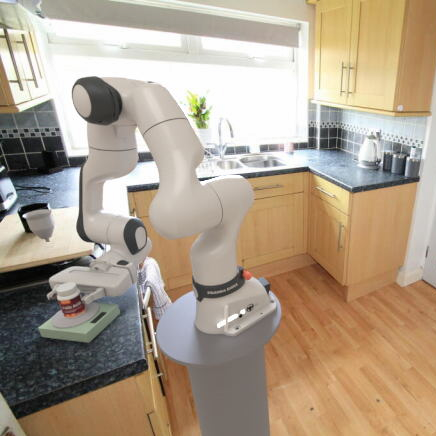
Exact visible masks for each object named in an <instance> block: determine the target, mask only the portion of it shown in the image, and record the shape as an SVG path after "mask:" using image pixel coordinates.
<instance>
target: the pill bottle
mask: <svg viewBox="0 0 436 436" xmlns="http://www.w3.org/2000/svg"><path fill="white" fill-rule="evenodd" d="M56 292H57V294H58V296H57V299H56V300H57V302H58V305H59V308H60V310H62V313H63V315H64V317H65V318H67V319H72V318H76V317H79V316H81V315H82V314H84V313H85V311H86V307H85V304H83V303H82V301H81V298H82V297H83V295H82V293H81V292H80V290H79V289H77V286H76V284H75V283H74V282H68V283H64V284H62V285H60V286H58V287H57V288H56Z"/></svg>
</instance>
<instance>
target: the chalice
mask: <svg viewBox="0 0 436 436" xmlns="http://www.w3.org/2000/svg"><path fill="white" fill-rule="evenodd" d="M22 218H24V219H26V223H27V225H28V227H29V230H30V231H31V232H32V233H33V234H34V235H35V236H36V237H38V238H39V239H40V240H45V243H46V242H51V240H50V238H52V237H53V233H54V230H55V222H54V220H53V217H52V210H51V209H36V210H32V211H29V212H26V213H24V214H22Z"/></svg>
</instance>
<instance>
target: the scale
mask: <svg viewBox="0 0 436 436" xmlns="http://www.w3.org/2000/svg"><path fill="white" fill-rule="evenodd" d="M85 307H86V311H85V313H84V314H82V315H81V316H79V317H76V318H72V319H67V318H65V317H64V315H63V313H62V310H61V309H60V310H59V311H57V312H56V313H55V314H54V315H53V316H51V317H50V318H49V319H48V320H46V321H45V322H44V323H42V324H41V325H40V326H39V327H37V330H38V332H39V333H40V336H41V338H46V339H55V340H62V341H71V342H79V343H86V344H87V343H88V344H90V343H91V342H92V341H93V340H94V339H95V338H96V337H97V336H98V335H99V334H100V333H102V331H104V330H105V328H107V327H108V326H109V325H110V324H111V323H112V322H113V321H114V320H115V319H116V318H117V317H118V316H119V315H120V314H121V310H120V306H119V304H117V303H105V302H98V301H92V302H91V303H90V304H85Z"/></svg>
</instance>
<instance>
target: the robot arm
mask: <svg viewBox="0 0 436 436" xmlns="http://www.w3.org/2000/svg"><path fill="white" fill-rule="evenodd" d="M71 99H72V103H73V106H74V110H75V111H76V113H77V114H78V115H79V116H80V117H81V118H82V119H83V120H84V121H85V122H86V138H87V145H88V155H87V160H85V161H83V162H82V164H81V167H80V169H79V175H78V176H79V177H78V215H77V219H76V225H75V229H76V233H77V235H78V237H79V238H80V240H82V241H83V242H85V243H91V244H102V245H107V246H110V249H109V250H107V251H106V252H104V253H103V254H101V255H99V256H98V257H97V258H95V259H94V260H92V261H91V262H89V263H90V264H89V265H88V266H81V265H80V266H78V265H77V266H75V265H74V266H70V267H67V268H65V269H63V270H61V271H59V272H57V273H55V274H53V275H52V276H50V277H49V278H48V284H49V286H50V288H51V291H50V292H48V293H47V294H46V298H47V300H48V301H56V300H57V296H58V294H57V292H56V288H57V287H58V286H60V285H62V284H64V283H68V282H74V283H75V284H76V286H77V289H79V290H80V292H81V294H84V295H83V296H82V298H81V301H82V303H83V304H90V303H91V302H94V301H97V300H100V299H102V298H104V297H113V298H117V297H120V296H122V295H124V294H125V293H126V292H127V291H129V289H131V288H132V287H133V285H135V284H136V283H137V282H138V276H137V272H136V269H135V268H137V267H138V266H139V265H141V264H142V263H143V262H144V261H145V260H146V259H147V258H148V256H149V255H150V253H151V252H152V250H153V243H152V241H151V238H149V236H148V231H147V228H146V226H145V223H144V222H143V221H142V219H140V218H139V217H135V216H131V215H126V214H118V213H114V212H109V211H107V210H106V209H104V207H103V206H104V205H103V203H104V202H103V201H104V199H103V198H104V186H105V183H106V182H107V181H111V180H116V179H121V178H122V177H125V176H128V175H129V174H131V173H132V172H133V171H134V170H135V169H136V167H137V166H138V161H139V153H138V143H137V135H136V129H137V128H138V131H139V133H140V135H141V137H142V139H143V141H144V142H145V144H146V146H147V149H148V150H149V152H150V155H151V157H152V159H153V161H154V163H155V166H156V168H157V172H158V179H159V181H158V182H159V183H158V189H157V192H156V193H155V196H154V197H153V199H152V201H151V202H150V205H149V208H148V218H149V219H148V220H149V221H150V225H151V227H152V228H153V229H154V231H155V232H156V233H157V234H158V235H160V236H161V237H162V238H164V239H167V240H169V241H170V240H171V241H172V240H179V239H184V238H189V237H193V236H196V235H198V234H199V235H198V237H196V239H195V240H194V242H193V243H192V245H191V247H190V250H189V258H190V264H191V270H192V276H191V282H192V286H191V287H192V291H194V296H195V298H196V314H195V319H194V323H195V326H196V327H197V329H198V330H200V331H201V332H204V333H207V334H224V335H227V336H231V337H234V336H237V335H238V334H240V333H241V332H243V331H244V330H246V329H247V328H249V327H251V326H252V325H254V324H255V323H257V322H258V321H260V320H261V319H263V318H264V317H266V316H268V315H269V314H271V313H272V312H274V311H275V310H276V309H277V305H276V300H275V298H274V297H273V295H272V294H271V293H270V292H269V291H271V283H270V281H268V280H267V279H266V278H265V277H263V276H261V277H258V278H256V277H255V276H253V274H252V273H251V272H250V271H249V270H245V267H243V266H242V265H240V264H239V263H238V254H237V253H238V252H237V248H238V247H237V245H238V238H239V235H240V231H241V227H242V225H243V222H244V220H245V218H246V216H247V214H248V213H249V211H250V210H251V209H252V207H253V206H254V203H255V191H254V188H253V186H252V184H251V183H250V181H249V180H248V179H247V178H245V177H244V176H242V175H221V176H217V177H214V178H211V179H207V180H204V181H200V179H199V178H198V175H197V170H196V169H197V168H199V167H200V165H201V164H202V163H203V161H204V158H205V153H206V151H205V147H204V144H203V143H202V141H201V139H200V137H199V135H198V133H197V131H196V129H195V127H194V125H193V124H192V122H191V120H190V118H189V116H188V115H187V112H186V111H185V110H184V108H183V107H182V105H181V104H180V102H179V101H178V99H177V97H176V96H175V95H174V94H173V93H172V91H170V89H169V88H168V87H166V86H165V85H163V84H161V83H157V82H154V81H149V80H148V81H144V80H139V79H133V78H127V77H119V76H104V77H103V76H102V77H100V76H93V75H92V76H91V75H90V76H84V77H79V78H78V79H76V81H74V84H73V85H72V88H71ZM237 329H238V330H237Z"/></svg>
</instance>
